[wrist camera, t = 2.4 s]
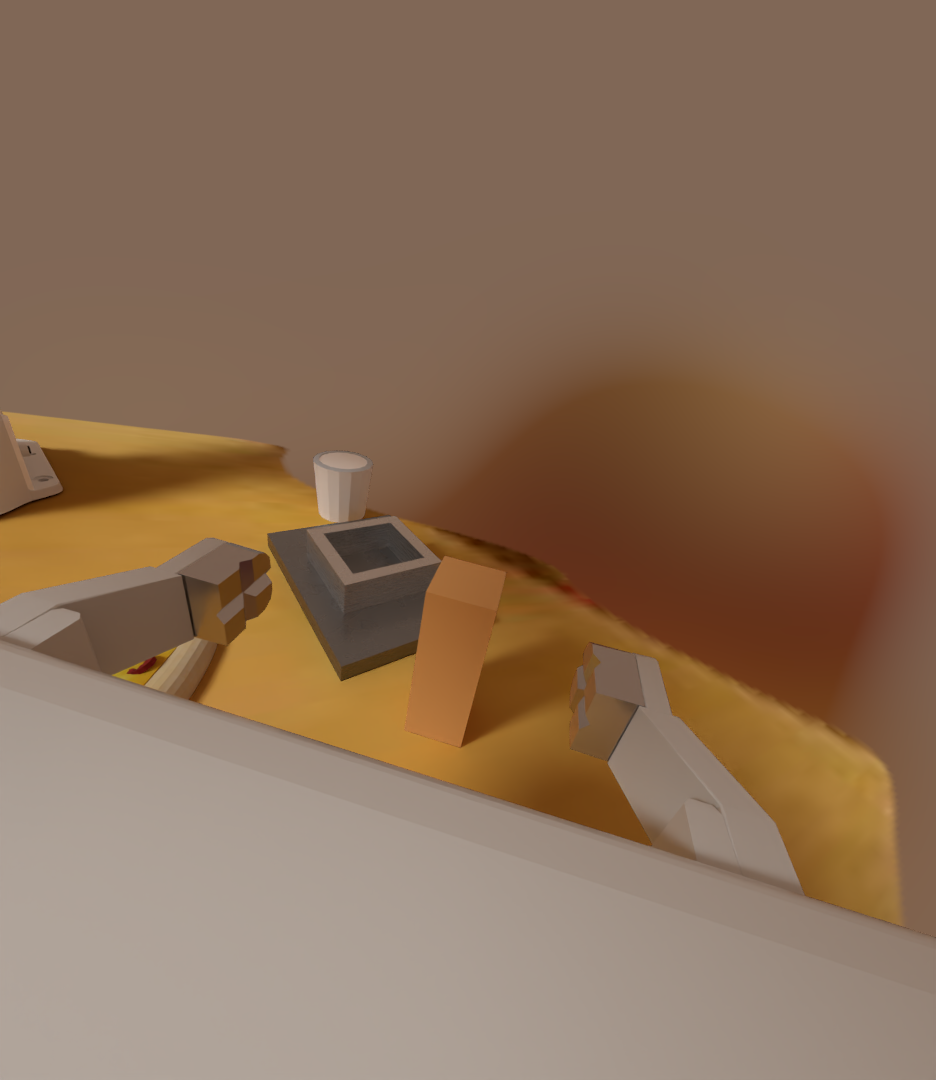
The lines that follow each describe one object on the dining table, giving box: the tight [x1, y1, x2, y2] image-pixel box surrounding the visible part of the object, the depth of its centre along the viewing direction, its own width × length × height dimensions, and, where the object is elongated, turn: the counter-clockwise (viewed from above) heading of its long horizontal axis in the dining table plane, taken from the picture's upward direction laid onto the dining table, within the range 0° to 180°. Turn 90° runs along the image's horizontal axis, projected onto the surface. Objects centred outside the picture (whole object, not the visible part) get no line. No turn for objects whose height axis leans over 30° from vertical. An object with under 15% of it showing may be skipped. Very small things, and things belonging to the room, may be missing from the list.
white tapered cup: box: [313, 451, 373, 523], centre depth 52 cm, size 7×7×7 cm
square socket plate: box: [267, 515, 442, 681], centre depth 41 cm, size 20×14×4 cm
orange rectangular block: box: [404, 556, 507, 747], centre depth 28 cm, size 4×4×12 cm
